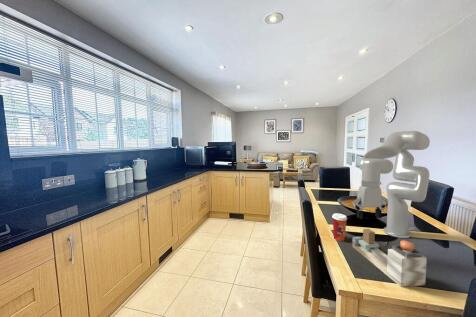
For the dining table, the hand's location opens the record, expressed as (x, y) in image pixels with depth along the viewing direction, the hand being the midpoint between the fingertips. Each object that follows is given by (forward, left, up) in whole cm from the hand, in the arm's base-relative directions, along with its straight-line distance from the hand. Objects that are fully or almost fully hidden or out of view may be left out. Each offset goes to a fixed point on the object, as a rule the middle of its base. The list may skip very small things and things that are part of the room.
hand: (368, 217), depth 94 cm
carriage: (0, 0, -16) cm, 16 cm away
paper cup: (+7, -14, -18) cm, 24 cm away
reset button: (0, +20, -5) cm, 21 cm away
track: (0, +9, -18) cm, 20 cm away
